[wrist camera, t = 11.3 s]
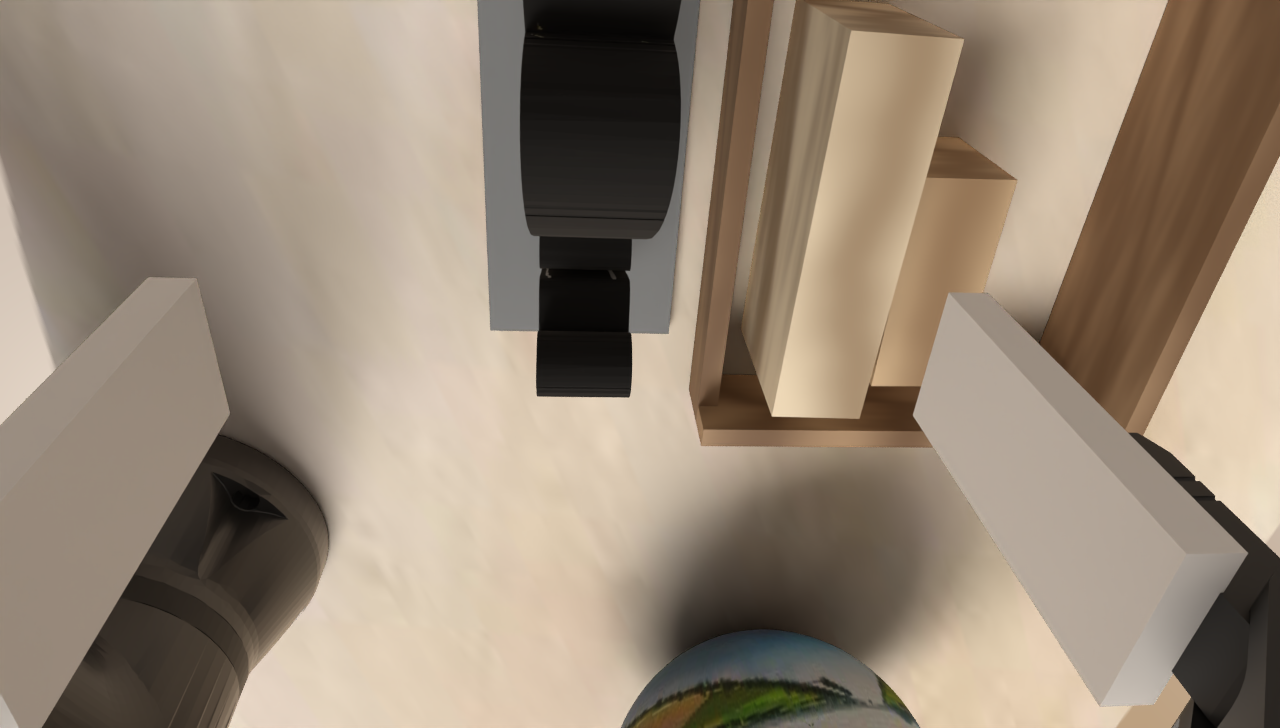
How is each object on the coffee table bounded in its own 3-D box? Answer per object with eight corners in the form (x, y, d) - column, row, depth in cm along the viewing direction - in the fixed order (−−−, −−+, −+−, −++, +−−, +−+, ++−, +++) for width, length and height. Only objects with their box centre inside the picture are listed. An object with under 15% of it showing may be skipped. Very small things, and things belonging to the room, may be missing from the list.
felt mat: (491, 324, 41) (490, 330, 40) (465, -347, 27) (463, -351, 27) (667, 328, 42) (668, 333, 41) (727, -322, 28) (730, -326, 28)
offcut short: (835, 323, 43) (871, 386, 38) (874, 134, 37) (922, 177, 32) (909, 323, 43) (954, 386, 38) (957, 136, 38) (1017, 180, 33)
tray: (688, 389, 44) (710, 486, 37) (757, -206, 30) (811, -225, 23) (1037, 394, 46) (1117, 486, 39) (1255, -165, 32) (1439, -171, 25)
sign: (550, -199, 32) (520, -737, 13) (630, -192, 32) (720, -708, 13) (544, 343, 38) (518, 541, 18) (613, 345, 38) (660, 540, 18)
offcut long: (740, 327, 42) (771, 416, 36) (796, -5, 34) (851, 30, 27) (814, 329, 43) (859, 418, 36) (887, 3, 34) (964, 39, 28)
